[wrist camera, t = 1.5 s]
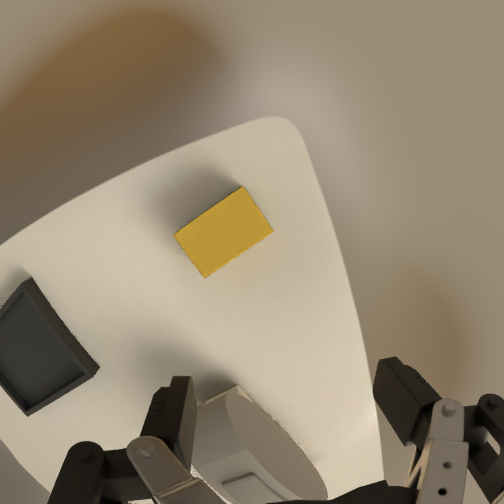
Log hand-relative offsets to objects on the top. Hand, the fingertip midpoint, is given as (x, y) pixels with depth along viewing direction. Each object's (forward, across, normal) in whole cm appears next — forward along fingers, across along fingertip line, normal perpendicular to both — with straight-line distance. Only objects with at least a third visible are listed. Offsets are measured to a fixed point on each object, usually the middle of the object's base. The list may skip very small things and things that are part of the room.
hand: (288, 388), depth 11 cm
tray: (+18, +31, +11) cm, 38 cm away
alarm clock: (+18, 0, +22) cm, 28 cm away
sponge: (+18, +3, -4) cm, 19 cm away
